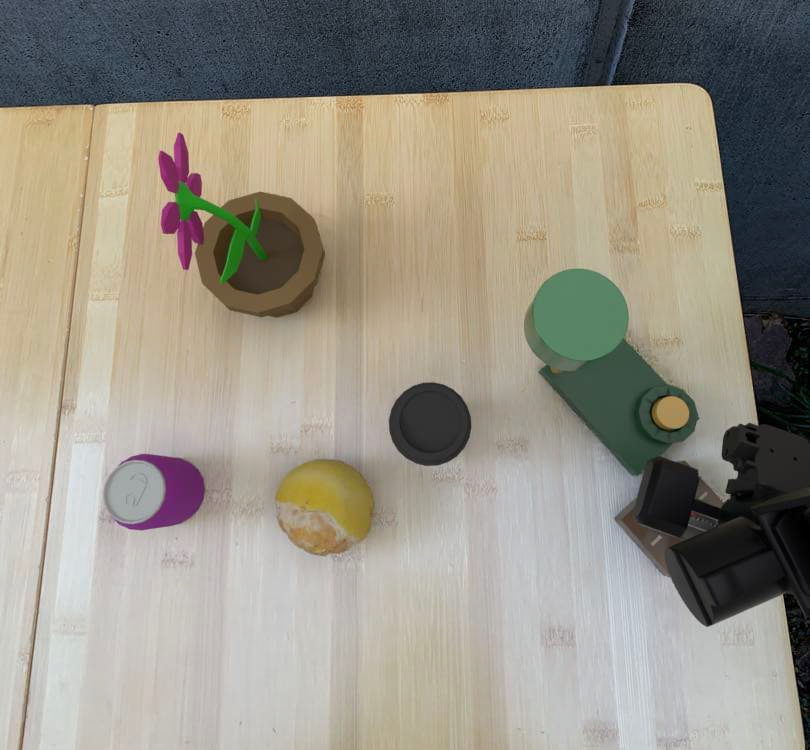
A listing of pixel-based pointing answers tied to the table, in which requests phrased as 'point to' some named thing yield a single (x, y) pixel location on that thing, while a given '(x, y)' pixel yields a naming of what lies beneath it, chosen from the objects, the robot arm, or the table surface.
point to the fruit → (325, 506)
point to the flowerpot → (243, 242)
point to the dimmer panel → (654, 540)
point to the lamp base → (623, 405)
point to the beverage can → (153, 492)
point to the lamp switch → (670, 413)
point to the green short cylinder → (576, 319)
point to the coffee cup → (430, 424)
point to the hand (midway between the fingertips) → (707, 520)
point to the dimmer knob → (691, 530)
